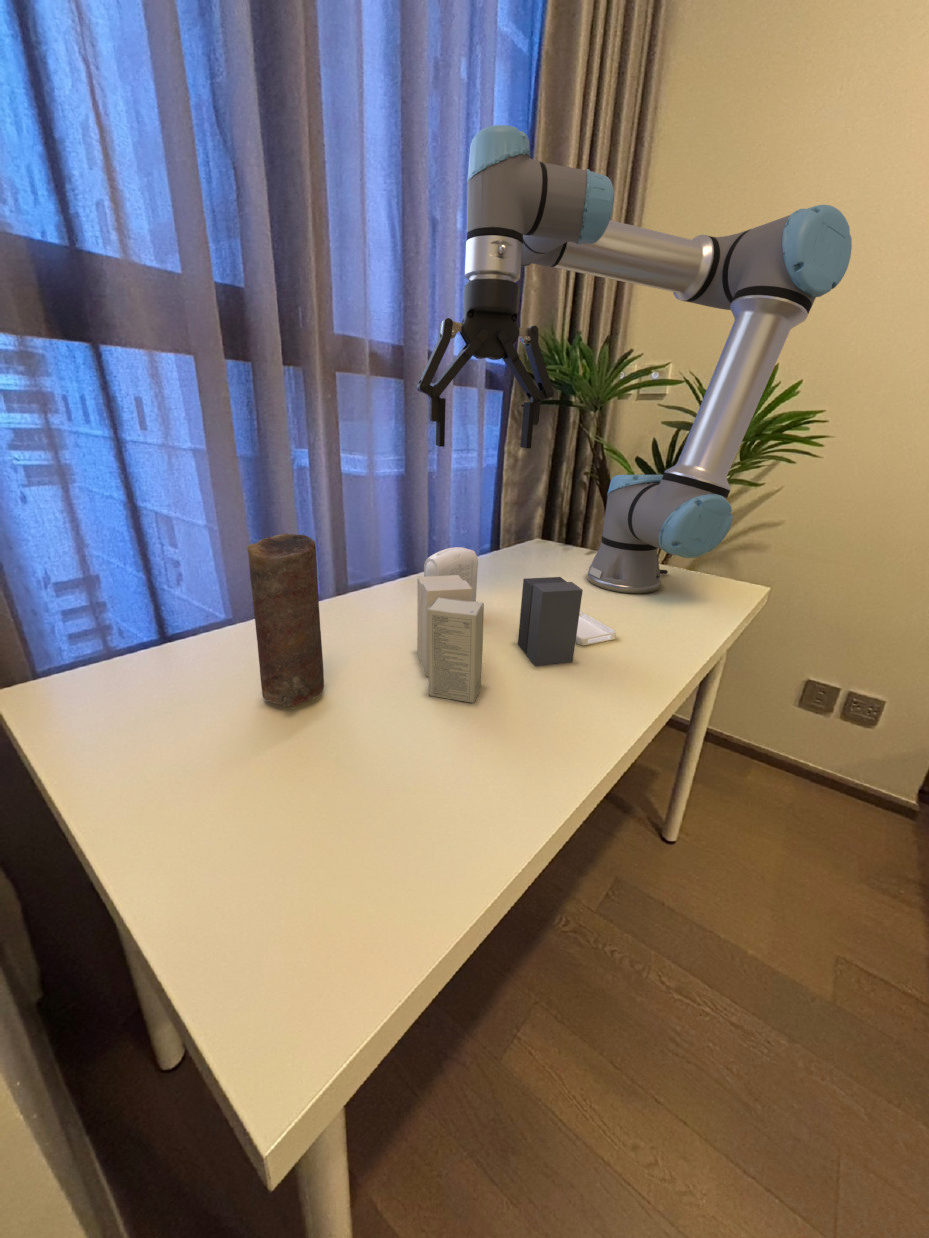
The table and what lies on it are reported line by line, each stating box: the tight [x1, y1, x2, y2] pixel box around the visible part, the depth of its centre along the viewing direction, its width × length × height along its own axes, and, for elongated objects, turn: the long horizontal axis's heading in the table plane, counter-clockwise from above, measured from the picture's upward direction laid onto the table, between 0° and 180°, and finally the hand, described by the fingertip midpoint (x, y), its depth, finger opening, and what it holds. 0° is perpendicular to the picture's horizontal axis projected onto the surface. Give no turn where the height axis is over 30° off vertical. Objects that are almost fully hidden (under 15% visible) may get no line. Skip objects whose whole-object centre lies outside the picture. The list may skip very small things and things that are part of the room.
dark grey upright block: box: [517, 576, 584, 667], centre depth 75 cm, size 6×7×12 cm
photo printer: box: [423, 546, 479, 602], centre depth 86 cm, size 10×4×12 cm, turn 134°
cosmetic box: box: [428, 598, 485, 703], centre depth 63 cm, size 6×4×12 cm
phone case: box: [575, 610, 617, 646], centre depth 87 cm, size 7×1×15 cm
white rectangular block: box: [416, 575, 472, 677], centre depth 71 cm, size 6×7×12 cm
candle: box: [246, 533, 325, 708], centre depth 59 cm, size 8×7×20 cm
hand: (483, 447), depth 77 cm, fingers open, 13 cm apart
